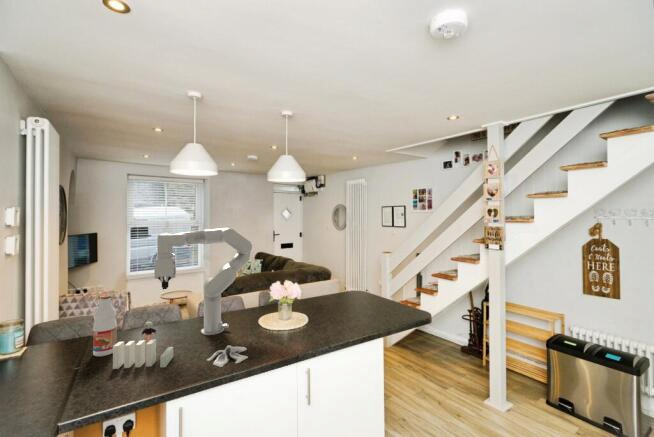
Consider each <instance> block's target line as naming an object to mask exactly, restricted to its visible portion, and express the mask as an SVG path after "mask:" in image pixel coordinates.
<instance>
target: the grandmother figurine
mask: <svg viewBox="0 0 654 437" xmlns="http://www.w3.org/2000/svg"><path fill="white" fill-rule="evenodd" d="M153 325H154V324H153V322H152V321H146V322H145V329H143V330H142V331H141V334H140V338H141V337H143V336H144V338H143V340H146V344H147V343H148V342H149V341H150V340H154V339H153V338H154V337H153V336H154V335H155V336H157V335H158V333H157V329H154V328H152V327H153ZM153 334H154V335H153Z"/></svg>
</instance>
